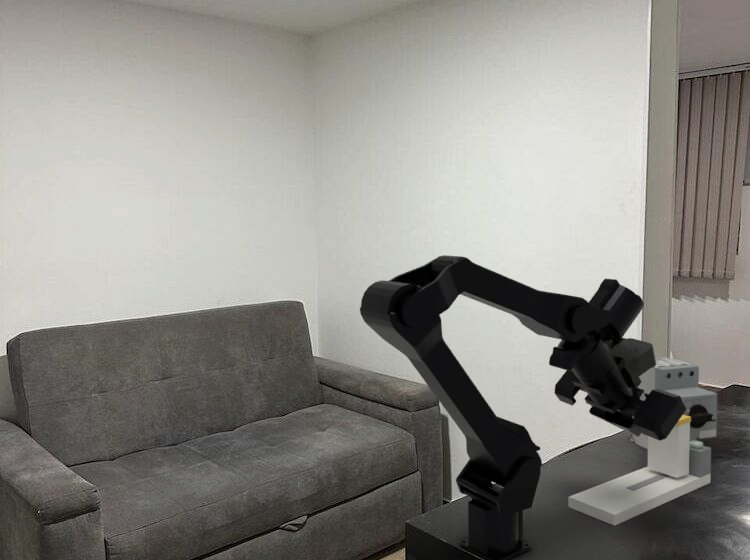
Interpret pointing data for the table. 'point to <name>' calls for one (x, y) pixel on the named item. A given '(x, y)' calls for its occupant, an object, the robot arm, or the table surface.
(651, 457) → the handle
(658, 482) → the long white slab
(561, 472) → the table surface
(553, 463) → the table surface
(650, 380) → the circuit breaker
